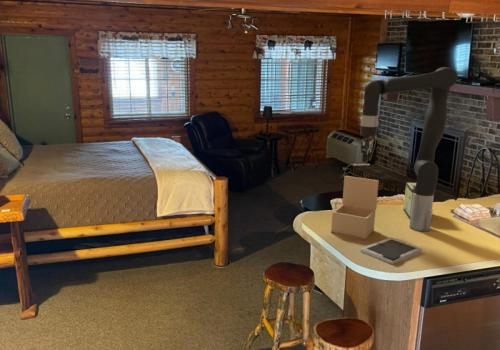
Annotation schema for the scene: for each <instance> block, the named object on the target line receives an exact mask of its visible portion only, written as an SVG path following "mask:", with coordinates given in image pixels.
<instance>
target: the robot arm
mask: <svg viewBox="0 0 500 350" xmlns="http://www.w3.org/2000/svg"><path fill="white" fill-rule="evenodd" d="M458 77H459V76H458V73H457V71H456V70H455V69H453V68H452V67H447V66H443V67H442V66H441V67H439V68H438V69H437V68H436V70H434V71H431V72H429V73H423V74H415V75H405V76H396V77H391V78H386V79H379V80H378V79H377V80H370V81H367V82H366V83H365V84H364V86H363V93H364V94H363V105H362V110H361V111H362V112H361V120H360V129H359V130H360V131H359V133H360V136H363V139H362V140H361V142H360V143H361V145H360V148H361V149H360V152H361V154H362V159H361V162H363V163H367V162H368V161H370V160H371V153H372V151H373V149H374V142H375V138H373V137H375V136H377V134H378V133H377V132H378V124H379V123H378V122H379V120H378V117H379V115H378V114H379V101H380V98H381V97H380V96H381V95H386V94H387V95H393V94H399V93H400V94H401V93H406V92H411V91H417V90H423V89H431V91H430V98H429V101H428V104H427V108H426V113H425V116H424V122H423V126H422V132H421V138H420V145H419V150H418V152H417V157H416V158H415V163H414V165H413V171H414V173H415V175H416V182H415V183H416V186H414V189H413V198H412V207H411V216H410V219H409V228H410V229H411V230H414V231H419V232H429V231H430V230H431V227H432V219H433V218H432V217H433V205H434V196H435V191H436V189H437V185H438V177H439V167H438V165H437V164H436V162H435V161H434V160H435V155H436V154H435V153H436V149H437V148H438V145H439V143H440V141H441V140H442V138H443V136H444V133H445V129H446V123H447V117H448V104H447V103H448V102H447V101H448V96H449V92H450V89H451V88H452V87H453V86H455V84H456V83H457V82H458Z"/></svg>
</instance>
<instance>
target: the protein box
mask: <svg viewBox="0 0 500 350" xmlns="http://www.w3.org/2000/svg"><path fill="white" fill-rule="evenodd" d="M414 186H416V182H411V181H410V182H409V181H406V182H405V189H404V190H405V191H404V192H405V193H404V201H403V211H404V213H405V215H406V216H407V217H408V219H409V220H410V216H411V207H412V198H413V189H414Z"/></svg>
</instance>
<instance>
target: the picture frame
mask: <svg viewBox="0 0 500 350" xmlns="http://www.w3.org/2000/svg"><path fill="white" fill-rule="evenodd" d="M360 252H361V253H362V254H366V255H368V256H370V255H371V256H370V257H373V258H375V259H378V260H381V261H383V262H384V263H385V262H386V263H388V264H390V265H395V264H398V263H400V262H402V261H405V260H407V259H409V258H411V257H414V256H416V255H419V254H421V253H423V248H421V247H419V246H416V245H413V244H410V243H407V242H404V241H403V240H398V239H395V238H393V237H388V238H386V239H382V240H380V241H377V242H374V243H372V244H368V245H366V246H363V247H360Z"/></svg>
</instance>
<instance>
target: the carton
mask: <svg viewBox="0 0 500 350" xmlns="http://www.w3.org/2000/svg"><path fill="white" fill-rule="evenodd" d="M376 210H377V209H376ZM376 210H373V209H367V208H361V207H355V206H349V205H343V204H341V205H340V206H338V207H337V208H336V209H334V211H332V215H331V227H330V228H331V231H330V233H331V234H335V235H339V236H345V237H349V238H356V239H360V240H364V239H365V241H366V240H367V239H368V238H369V236H370V235H372V233H373V232H374V231H373V230H375V222H376V221H375V219H376V212H377V211H376ZM372 231H373V232H372ZM367 237H368V238H367Z"/></svg>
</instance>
